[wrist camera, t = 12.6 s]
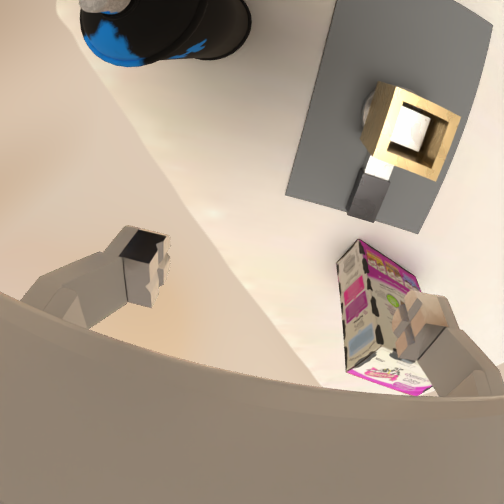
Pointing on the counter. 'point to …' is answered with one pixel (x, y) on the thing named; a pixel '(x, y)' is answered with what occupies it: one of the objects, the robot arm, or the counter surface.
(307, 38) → the counter surface
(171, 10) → the aerosol can
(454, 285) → the counter surface
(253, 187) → the counter surface
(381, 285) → the candy bar box
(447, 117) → the brass square frame
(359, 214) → the ratchet
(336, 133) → the mat
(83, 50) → the counter surface
